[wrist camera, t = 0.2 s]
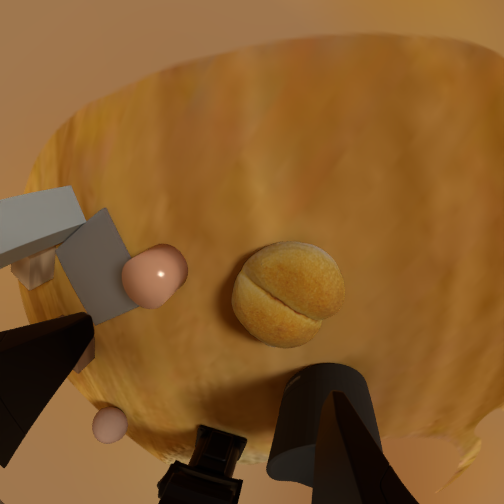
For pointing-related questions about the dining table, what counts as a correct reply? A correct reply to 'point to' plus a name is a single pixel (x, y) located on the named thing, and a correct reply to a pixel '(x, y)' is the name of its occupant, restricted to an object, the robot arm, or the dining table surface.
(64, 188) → the tall block
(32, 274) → the beech cube
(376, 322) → the dining table surface
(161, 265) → the pink rounded pebble
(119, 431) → the mauve oval ball
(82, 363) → the walnut brick
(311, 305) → the bread roll
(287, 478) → the pen holder
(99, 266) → the coaster
